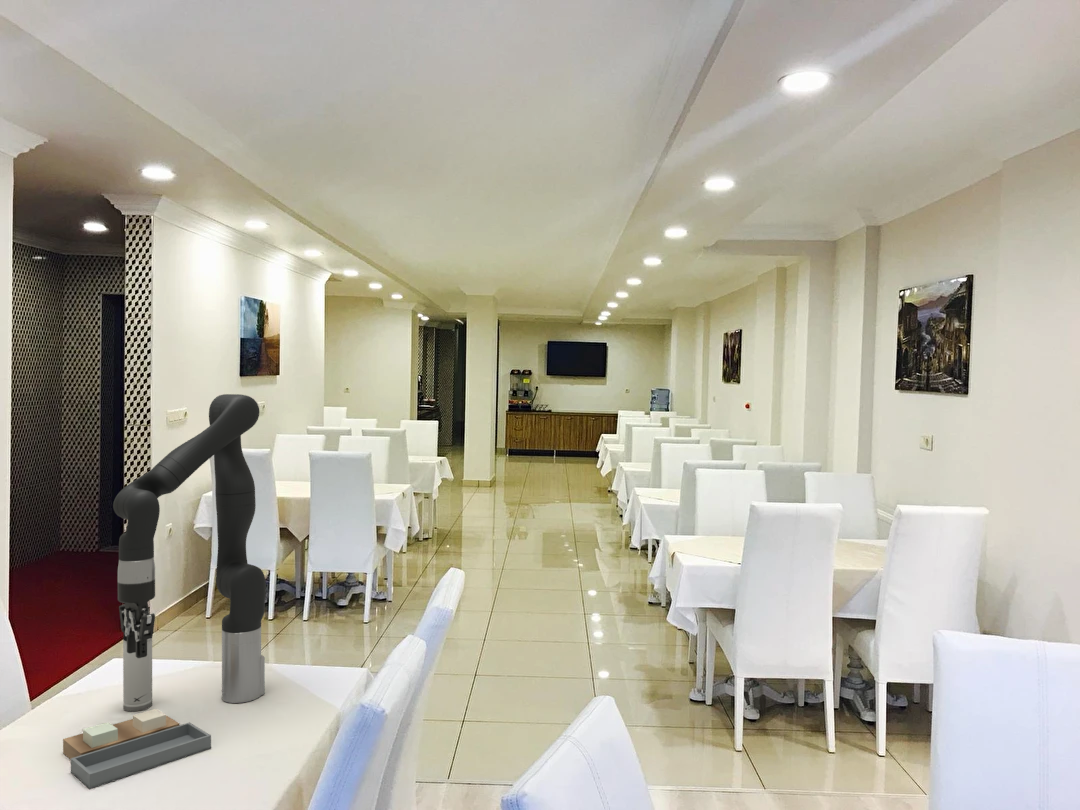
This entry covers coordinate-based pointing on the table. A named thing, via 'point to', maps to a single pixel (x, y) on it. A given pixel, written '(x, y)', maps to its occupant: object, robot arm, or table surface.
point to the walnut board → (125, 733)
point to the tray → (139, 754)
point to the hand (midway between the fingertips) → (136, 654)
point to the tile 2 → (149, 720)
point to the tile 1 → (100, 734)
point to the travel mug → (137, 679)
